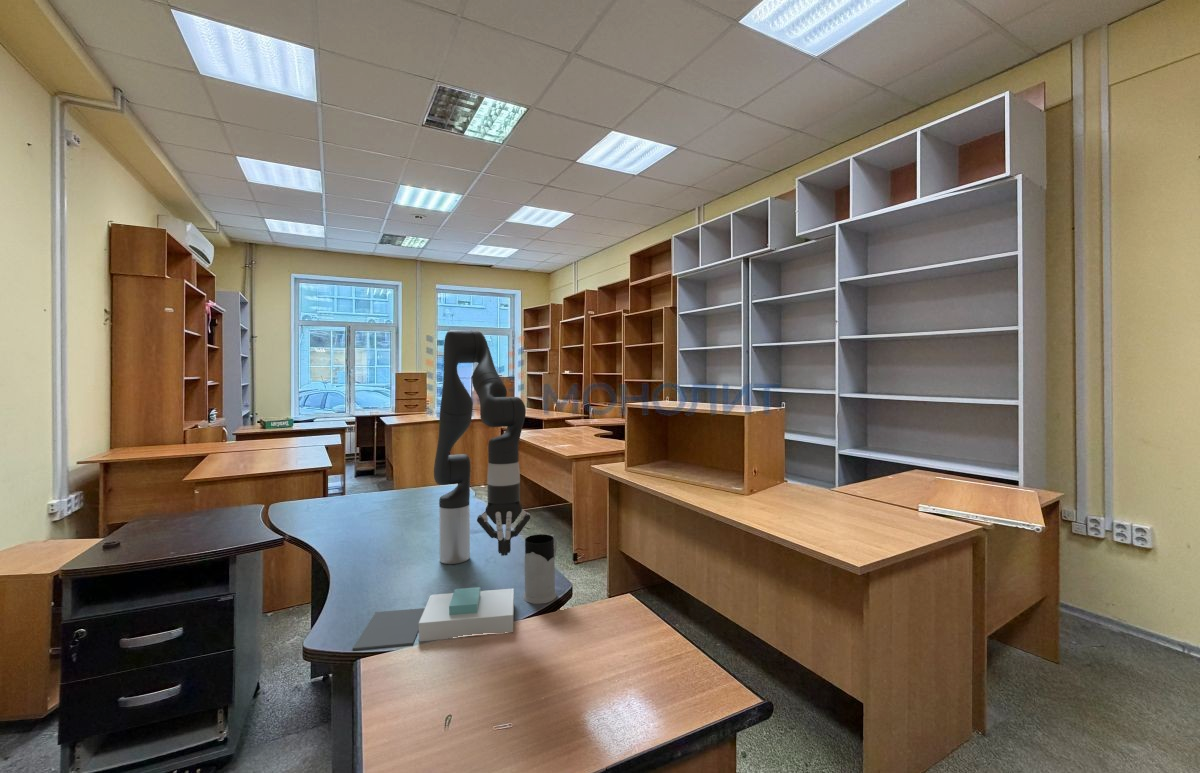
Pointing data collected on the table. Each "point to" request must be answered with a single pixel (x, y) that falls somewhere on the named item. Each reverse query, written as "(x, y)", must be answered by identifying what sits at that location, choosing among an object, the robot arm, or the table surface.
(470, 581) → the table surface
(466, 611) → the teal rectangular box
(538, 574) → the glass holder
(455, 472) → the robot arm
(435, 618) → the plate
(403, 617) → the mat
